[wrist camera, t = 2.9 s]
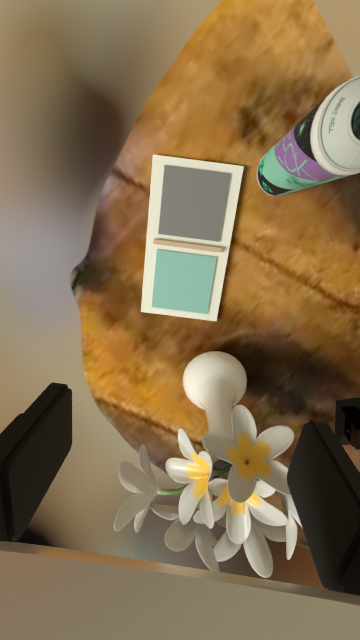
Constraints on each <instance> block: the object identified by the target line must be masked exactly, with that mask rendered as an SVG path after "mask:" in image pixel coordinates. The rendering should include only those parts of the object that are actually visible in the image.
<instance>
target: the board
mask: <svg viewBox="0 0 360 640" xmlns="http://www.w3.org/2000/svg"><path fill="white" fill-rule="evenodd" d="M243 168H244V166H238V165H230V164H223V163H215V162H207V161H200V160H192V159H184V158H176V157H169V156H161V155H153V163H152V175H151V188H150V201H149V214H148V227H147V240H146V253H145V266H144V279H143V291H142V304H141V312H147V313H155V314H163V315H171V316H179V317H186V318H194V319H202V320H210V321H217V316H218V310H219V304H220V299H221V293H222V287H223V282H224V276H225V270H226V265H227V259H228V253H229V248H230V242H231V236H232V231H233V225H234V219H235V214H236V208H237V202H238V197H239V191H240V185H241V179H242V174H243Z"/></svg>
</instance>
